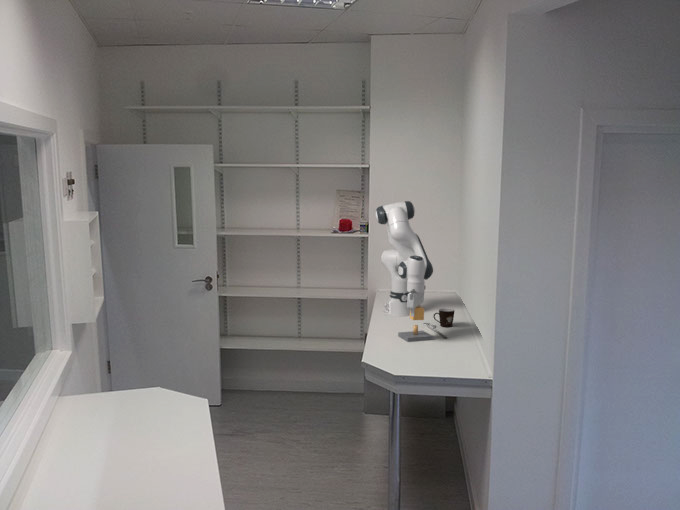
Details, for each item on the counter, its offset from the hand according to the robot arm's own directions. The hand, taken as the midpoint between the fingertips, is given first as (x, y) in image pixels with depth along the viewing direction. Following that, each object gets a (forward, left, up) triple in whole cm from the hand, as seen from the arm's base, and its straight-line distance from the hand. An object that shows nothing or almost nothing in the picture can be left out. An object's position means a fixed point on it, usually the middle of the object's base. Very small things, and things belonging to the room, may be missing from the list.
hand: (415, 314), depth 300 cm
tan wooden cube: (0, +1, -2) cm, 2 cm away
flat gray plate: (0, +1, -12) cm, 12 cm away
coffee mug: (-17, +26, -12) cm, 33 cm away
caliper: (-8, +20, -13) cm, 25 cm away
